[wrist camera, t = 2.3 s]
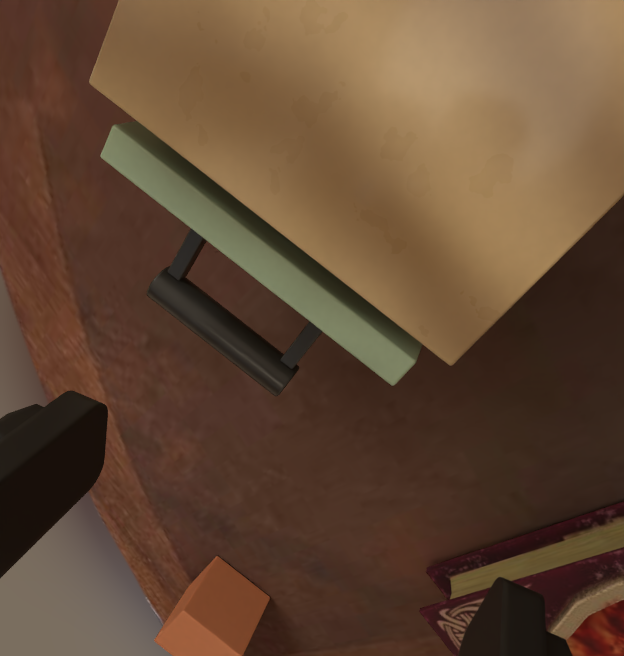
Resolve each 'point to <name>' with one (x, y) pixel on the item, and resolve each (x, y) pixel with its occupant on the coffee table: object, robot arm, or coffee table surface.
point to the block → (214, 614)
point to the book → (546, 582)
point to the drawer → (251, 272)
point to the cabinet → (393, 134)
